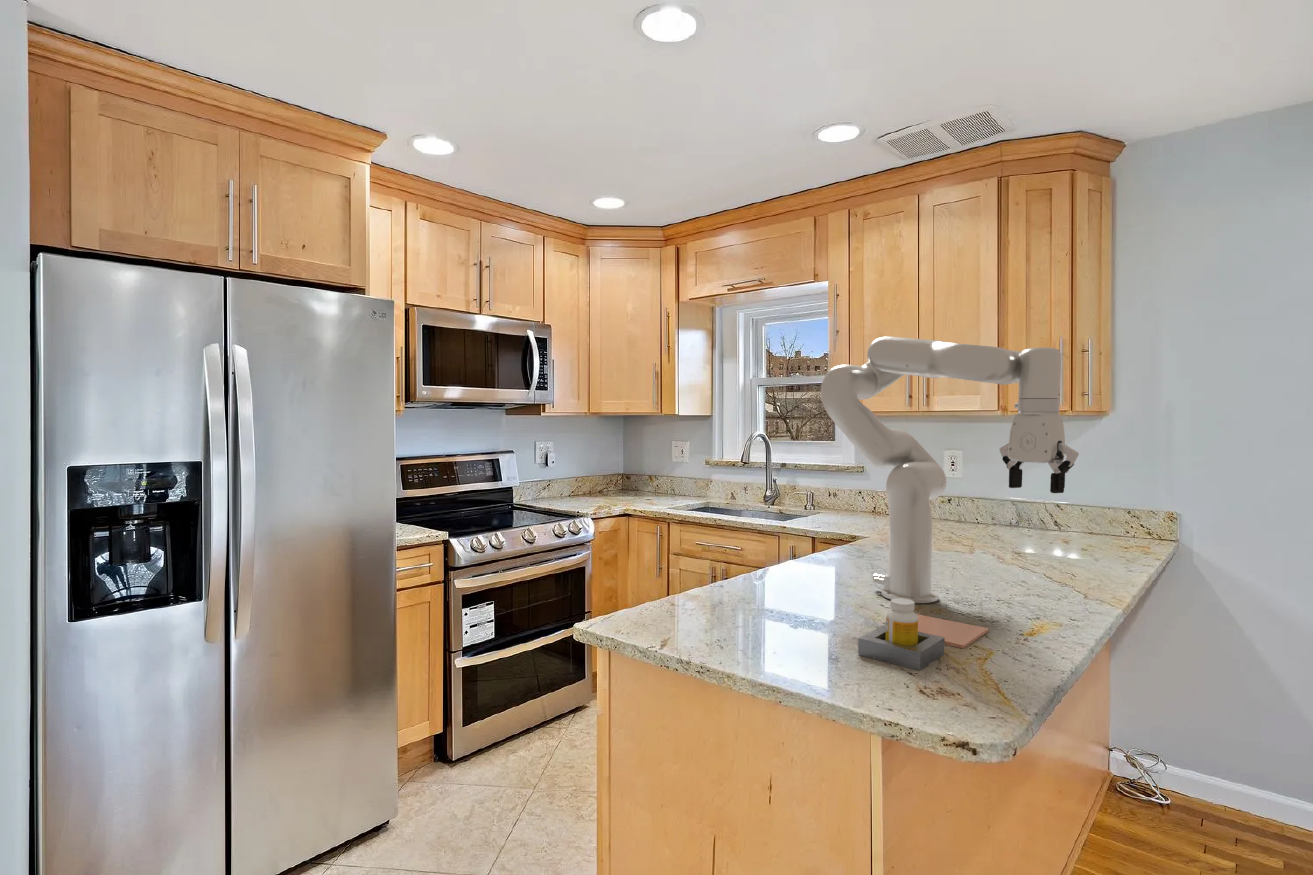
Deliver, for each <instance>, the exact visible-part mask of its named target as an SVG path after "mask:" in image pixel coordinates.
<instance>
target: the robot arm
mask: <svg viewBox="0 0 1313 875" xmlns="http://www.w3.org/2000/svg"><path fill="white" fill-rule="evenodd" d="M866 353H867V356H866V357H867V360H868V361H866V363H864V364H863V365H854V364H840V365H836V366H834V367H831V368H830V369H829V370H828V371H827V372H826V374H825V376H824V377H823V380H822V382H821V386H820V387H821V388H820V398H821V402H822V406H823V408H824V410H825V411H826V413H827V415H828V417H829V418H830V419H831V420H832V422H833V423H834V424H835V425H836V426H837V427H838V428H839V430H840V431H841V432H842V433H843V434H844V435H845V436H846V437H847V439H848V441H850V443H851V444H852V445H853V446H854V447H855V448H856V449H857V451H858V452H859V454H861V456H862V457H863V458H864V459H865V460H866V461H867V463H868V464H870V465H871V466H873V467H875V468H880V469H886V468H887V469H889V468H890V469H891V471H890V472H889V474H888V476H887V479H886V482H885V485H886V486H885V488H886V490H885V491H886V496H887V497H886V498H887V505H888V566H887V567H888V569H887V570H888V572H887V574H886V575H883V574H881V573H874V574H873V575H872V582H873V583H874V584H880V585H882V586H883V587H882V588H881V590H880V591H881V596H882V597H884V598H885V599H889V600H891V599H895V598H903V599H909V600H912V601H914V603H915V604H930V603H935V602H937V601H938V600H939V593H938V592H937V591H935V590H932V571H933V570H932V569H933V568H932V566H933V565H932V561H933V560H932V559H933V558H932V557H933V516H932V508H931V503H930V501H931V500H934V499H936V498H938V497H939V496H941V495H942V494H943V493H944V491H945V489H946V487H947V476H946V474H945V471H944V470H943V468H942V467H941V465H940V464H939V463H938V462H937V460H935V459H934V457H932V455H931V454H930V453H929V452H928V451H927V450H926V449H925V447H923V445H921V443H920V442H918V440H917V439H916V438H915V437H914V436H913V435H911V434H910V433H908V432H907V431H905V430H903V429H900V428H889V427H887V426H886V425H885V424H884V423H882V421H880V419H879V418H878V417H877V416H876V415H875V413H874V412H873V411H872V410H871V409H870V408H868V406H866V405H865V404H863V403H862V402H861V400H862V401H865V400H868V399H871V398H873V397H875V396H877V395H878V394H880V393H881V392H883V391H884V390H886V389H887V388H888V387H889V386H891V385H893V384H894V383H895V382H897V381H898V380H899V379H901V378H903V377H904V376H905V375H907V376H914V377H922V378H927V379H928V378H930V379H939V378H946V379H947V378H949V379H955V380H956V379H957V380H966V381H971V382H980V383H988V384H995V385H1002V386H1003V385H1011V384H1012V385H1013V384H1018V396H1017V397H1018V400H1017V402H1015V404H1014V408H1015V409H1016V410H1017V414H1014V415H1013V417H1012V422H1011V426H1010V430H1009V431H1010V432H1009V437H1008V443H1007V444H1005V445H1003V446H1001V447H1000V448H999V453H1000V456H1001V457H1002V458H1001V459H1002V462H1004V464H1005V466H1006V467H1005V468H1006V469H1007V470H1008V488H1010V489H1020V488H1022V487H1023V469H1022V468H1021V467H1022V466H1023V464H1025V463H1035V464H1048V465H1049V467H1050V468H1051V470H1052V472H1051V474H1050V489H1049V490H1050V491H1049V492H1050V493H1051V494H1063V493H1065V488H1066V487H1065V486H1066V485H1065V484H1066V483H1065V482H1066V474H1068V473H1069V471H1070V469H1071V468H1073V467H1074V465H1075V462H1076V461H1077V458H1078V457H1079V451H1076V450H1075V449H1073V448H1071V447H1070V446H1069V445H1067V444H1066V439H1065V437H1066V436H1065V426H1064V421H1063V416H1062V414H1060V402H1061V400H1060V398H1061V374H1062V353H1061V351H1060V350H1059V349H1058V348H1055V347H1032V348H1031V347H1030V348H1026V349H1023V350H1022V351H1021V350H1011V349H1005V348H1003V347H998V346H993V345H992V346H990V345H980V344H979V345H977V344H967V343H966V344H965V343H955V342H947V341H943V340H936V339H935V340H933V339H921V338H910V337H899V336H882V337H878V338H876V339H874V340H873V341H872V342H871V343H870V344H869V347H868V349H867V352H866ZM1065 456H1066V458H1065Z"/></svg>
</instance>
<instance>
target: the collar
mask: <svg viewBox="0 0 1313 875" xmlns="http://www.w3.org/2000/svg"><path fill="white" fill-rule="evenodd" d="M857 640H858V643H857V644H858V645H857V646H858V647H857V655H858V656H861V657H865V658H869V659H873V660H876V661H881V662H885V663H890V664H892V665H897V666H900V667H905V668H909V669H912V670H913V669H914V670H916V671H922V670H923V669H925V668H926V667H928V666H929V665H930V664H932V663H933V662H935V661H937V660H938V659H939V658H941V657H942V656H944V655H945V645H946V644H945V637H941V636H936V635H931V634H927V633H922V632H918V644H917V645H916V646H914V647H911V646H907V645H903V644H898V643H894V642H890V641H886V624H884V625H882V626H879V627H877V628H876V629H873V630H872V631H870V632H867V633H865V634H863V635H861V636H860V637H858V639H857Z"/></svg>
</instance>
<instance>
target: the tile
mask: <svg viewBox="0 0 1313 875" xmlns="http://www.w3.org/2000/svg"><path fill="white" fill-rule="evenodd" d="M916 615H917V616H918V632H922V633H927V634H931V635H936V636H941V637H945V645H946V646H950V647H956V648H958V649H959V648H960V649H966V648H967V647H968V646H969V645H972V644H973V643H974V642H975V641H977V640H978V639H980V638H981V637H982V636H985V635H986V633H989V628H988V627H983V626H979V625H974V624H973V625H972V624H970V623H969V624H968V623H963V622H958V621H954V620H948V619H943V618H938V617H933V616H929V615H925V614H924V615H923V614H916Z"/></svg>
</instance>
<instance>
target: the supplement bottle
mask: <svg viewBox="0 0 1313 875" xmlns="http://www.w3.org/2000/svg"><path fill="white" fill-rule="evenodd" d="M915 604H916V603H914V601H912V600H909V599H903V598H895V599H890V608H891V609H890V610H888V611H887V613H886V616H885V625H886V641H890V642H894V643H898V644H903V645H907V646H911V647H914V646H916V645H917V644H918V616H917V615H918V614H916V613H915V612H914V611H915V609H916V608H915V607H916V606H915Z"/></svg>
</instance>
